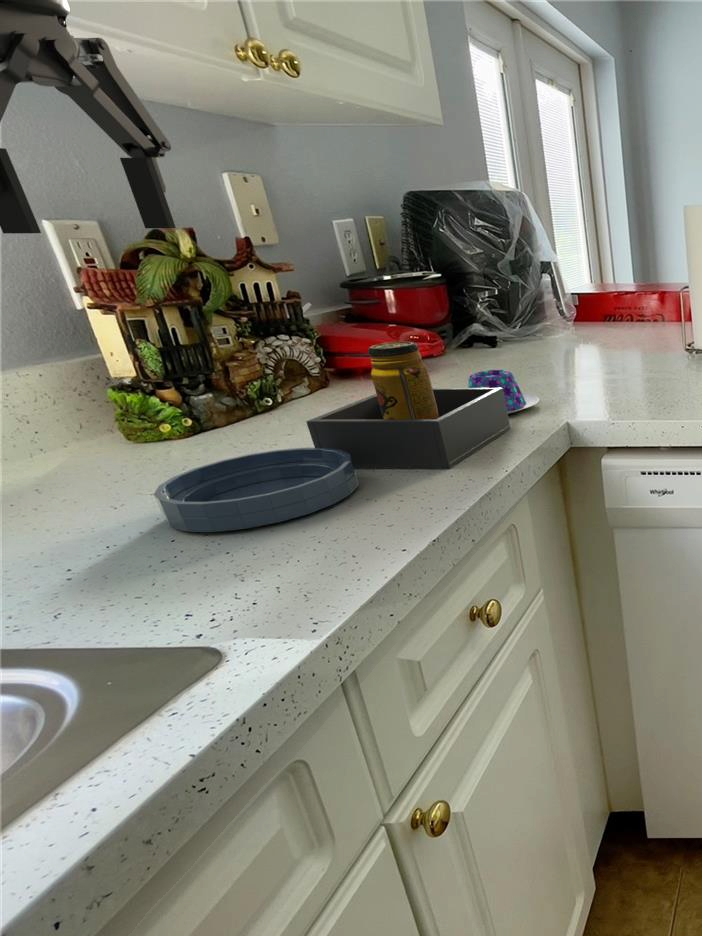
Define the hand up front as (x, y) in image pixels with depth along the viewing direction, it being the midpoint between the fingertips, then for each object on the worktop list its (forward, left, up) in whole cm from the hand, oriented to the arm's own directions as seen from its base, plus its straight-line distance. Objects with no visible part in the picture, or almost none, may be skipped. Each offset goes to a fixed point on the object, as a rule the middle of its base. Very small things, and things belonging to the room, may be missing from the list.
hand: (98, 231), depth 68 cm
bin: (+18, +13, -26) cm, 34 cm away
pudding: (+19, +31, -26) cm, 45 cm away
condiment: (+18, +13, -25) cm, 34 cm away
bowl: (+12, -5, -26) cm, 29 cm away
